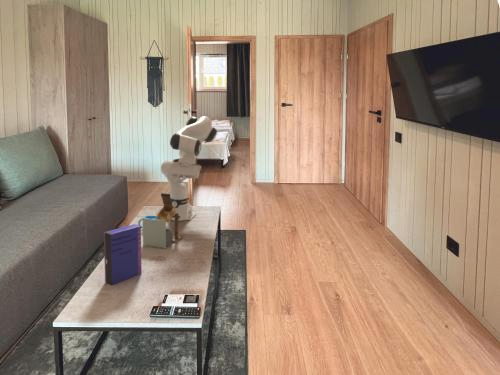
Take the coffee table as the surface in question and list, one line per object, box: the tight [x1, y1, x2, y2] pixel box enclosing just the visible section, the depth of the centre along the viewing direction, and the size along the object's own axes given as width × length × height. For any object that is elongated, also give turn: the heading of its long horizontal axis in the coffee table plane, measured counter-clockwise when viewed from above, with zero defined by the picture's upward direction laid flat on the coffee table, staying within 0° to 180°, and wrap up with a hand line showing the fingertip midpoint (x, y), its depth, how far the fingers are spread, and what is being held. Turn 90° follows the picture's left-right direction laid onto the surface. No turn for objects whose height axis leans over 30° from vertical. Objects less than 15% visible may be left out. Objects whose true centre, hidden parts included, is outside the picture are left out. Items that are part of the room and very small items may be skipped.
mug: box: [137, 215, 157, 230], centre depth 305 cm, size 12×8×8 cm
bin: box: [142, 217, 174, 250], centre depth 277 cm, size 11×14×16 cm
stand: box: [156, 212, 184, 244], centre depth 288 cm, size 10×14×16 cm
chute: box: [155, 193, 176, 224], centre depth 281 cm, size 10×9×15 cm
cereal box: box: [103, 223, 143, 286], centre depth 227 cm, size 17×5×24 cm, turn 144°
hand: (179, 182), depth 297 cm, fingers closed
